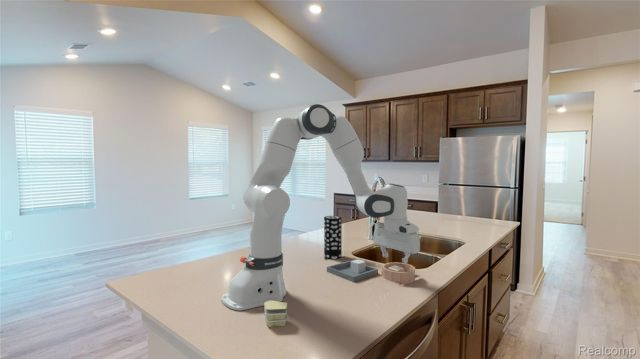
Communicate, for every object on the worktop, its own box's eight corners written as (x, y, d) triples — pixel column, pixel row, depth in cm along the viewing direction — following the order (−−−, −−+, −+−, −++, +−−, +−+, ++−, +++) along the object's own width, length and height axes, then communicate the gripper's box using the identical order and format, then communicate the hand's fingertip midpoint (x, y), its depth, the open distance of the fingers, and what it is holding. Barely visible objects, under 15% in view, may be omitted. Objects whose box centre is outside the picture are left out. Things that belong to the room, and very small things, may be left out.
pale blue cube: (358, 273, 136) (358, 263, 136) (350, 270, 139) (350, 261, 139) (365, 271, 139) (365, 261, 138) (357, 268, 142) (357, 259, 142)
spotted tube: (335, 262, 154) (335, 219, 152) (320, 259, 159) (320, 217, 157) (344, 257, 160) (344, 216, 159) (330, 255, 165) (330, 215, 164)
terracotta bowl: (401, 286, 123) (401, 275, 123) (375, 277, 133) (375, 266, 133) (421, 279, 131) (421, 267, 131) (395, 270, 141) (395, 260, 141)
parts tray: (353, 284, 126) (353, 277, 126) (326, 273, 138) (326, 266, 138) (378, 275, 135) (378, 269, 135) (350, 266, 147) (350, 260, 147)
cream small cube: (396, 280, 128) (396, 270, 128) (388, 277, 131) (388, 267, 131) (404, 278, 131) (404, 268, 130) (395, 275, 134) (395, 265, 134)
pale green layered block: (294, 316, 101) (294, 299, 101) (290, 331, 92) (289, 312, 92) (261, 316, 102) (261, 298, 101) (254, 330, 93) (254, 311, 92)
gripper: (370, 222, 136) (369, 255, 136) (412, 230, 120) (411, 267, 120) (380, 220, 140) (379, 252, 140) (422, 228, 124) (421, 264, 124)
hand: (394, 259), depth 130 cm, fingers open, 8 cm apart
